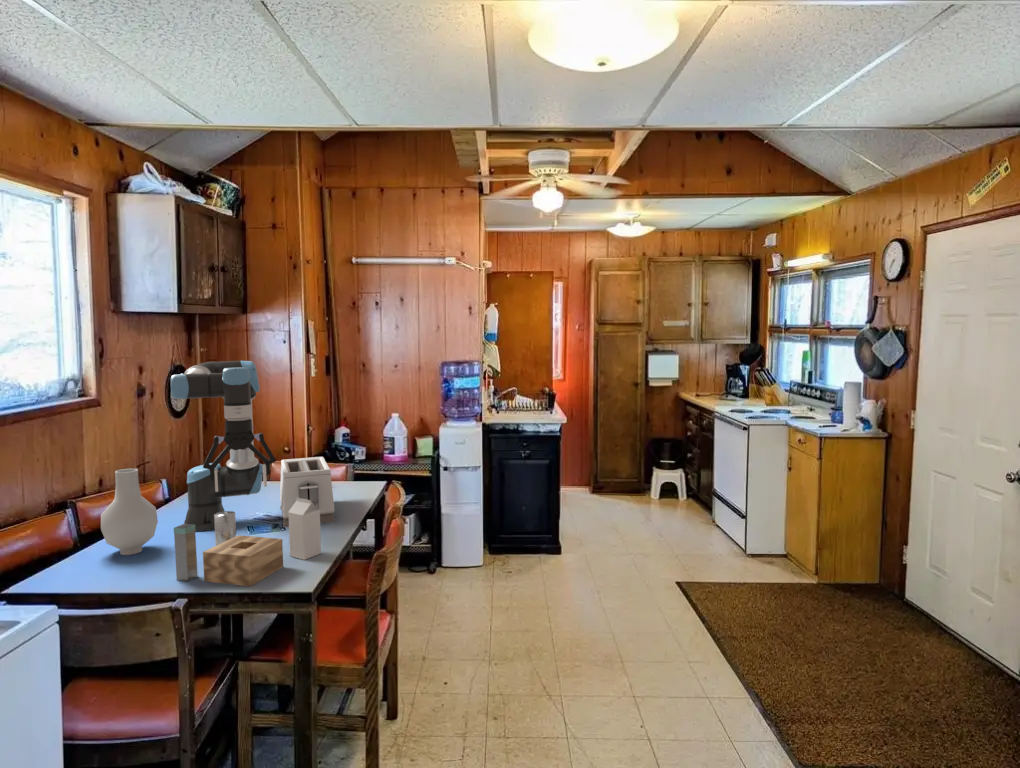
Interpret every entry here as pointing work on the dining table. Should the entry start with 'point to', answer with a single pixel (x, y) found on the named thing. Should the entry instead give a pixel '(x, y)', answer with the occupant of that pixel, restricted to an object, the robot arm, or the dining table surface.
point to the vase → (128, 515)
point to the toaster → (306, 486)
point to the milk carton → (304, 529)
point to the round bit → (224, 526)
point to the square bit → (185, 552)
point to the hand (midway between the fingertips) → (241, 488)
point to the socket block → (243, 560)
